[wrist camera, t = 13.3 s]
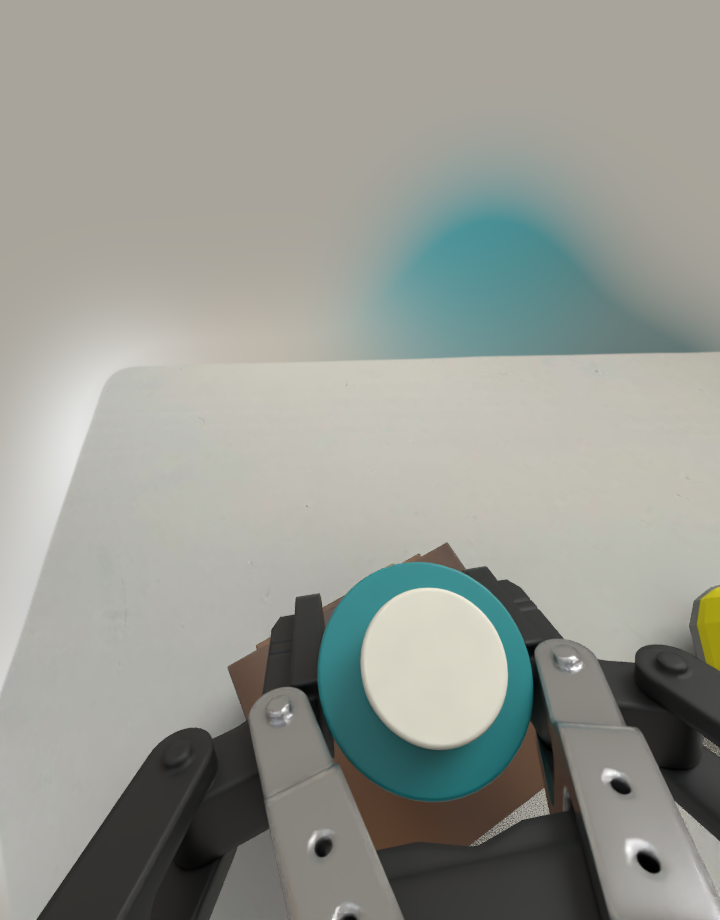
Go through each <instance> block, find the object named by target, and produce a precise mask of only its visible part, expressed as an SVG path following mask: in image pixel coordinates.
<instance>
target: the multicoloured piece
mask: <svg viewBox="0 0 720 920" xmlns="http://www.w3.org/2000/svg"><path fill="white" fill-rule="evenodd" d="M689 627H690V631H691V635H692V639H693V643H694V647H695V651H696V655H697V658H698V659H700V660H702V661H703V662H705V663H707V664H709V665H710V666H712V667H714V668H716V669H717V670H719V671H720V585H718V586H714V587H711V588H710V589H708V590H707V591H705V592H704V593H703V594H702V595H701V596H699V597H698V598H697V599H696V600H694V603H693V609H692V614H691V620H690V625H689Z"/></svg>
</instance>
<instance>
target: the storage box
mask: <svg viewBox="0 0 720 920" xmlns="http://www.w3.org/2000/svg"><path fill="white" fill-rule="evenodd" d="M407 562H426V563H434V564H439V565H444V566H447V567H450V568H453V569H456V570H458V571H460V572H462V570H465V567H464V566H463V564H462V563H461V561H460V560H459V558H458V557H457V555H456V554H455V553H454V551H453V550H452V548H451V547H450V545H449V544H448V543H445V544H443V545H442V546H440V547H438V548H436V549H434V550H433V551H431V552H429V553H427V554H426V555H424V556H422V557H421V555H420V554H417V555H415V556H414V557H412V558H410V559H408V560H407V561H405V562H403V563H407ZM392 565H395V564H391V565H389V566H392ZM389 566H387V567H389ZM344 596H345V595H344ZM344 596H343V597H344ZM343 597H341V598H339V599H337V600H336V601H334V602H332V603H330V604H328V605H327V606H325V607H323V614H324V620H325V626H327V623H328V621H329V619H330V617H331V615H332V614H333V612H334V610H335V608H336V607H337V605H338V604H339V603H340V601H341V600H342V598H343ZM270 638H271V637H270ZM270 638H268V639H266V640H265V641H263V642H261V643H259V644H258V645H256V648H257V650H256V651H254V652H253V653H251V654H249V655H247V656H246V657H244V658H242V659H240V660H239V661H237V662H235V663H233V664H231V665H230V666H228V671H229V673H230V676H231V679H232V682H233V684H234V687H235V690H236V693H237V695H238V698H239V701H240V704H241V707H242V709H243V712H244V715H245V718H246V720H248V718H249V713H250V710H251V708H252V706H253V705H254V704H255V702H256V701H257V700H258V699H259V698H260V697H262V693H263V686H264V679H265V672H266V665H267V658H268V651H269V645H270ZM334 750H335V758H332V760H333V762H334V764H336V763H338V764H339V765H340V767H341V769H342V771H343V773H344V776H345V778H346V781H347V783H348V785H349V788H350V790H351V793H352V795H353V797H354V800H355V802H356V805H357V807H358V809H359V812H360V814H361V817H362V819H363V821H364V824H365V826H366V829H367V831H368V833H369V836H370V838H371V841H372V843H373V845H374V848H375V850H380V849H385V848H390V847H395V846H400V845H404V844H409V843H414V842H428V843H438V844H449V845H460V846H469V845H471V844H472V843H473V842H475V841H476V840H477V839H478V838H480V837H481V836H482V835H484V834H485V833H486V832H488V831H489V830H490V829H491V828H493V827H494V826H495V825H497V824H498V823H499V822H500V821H502V820H503V819H504V818H506V817H507V816H508V815H510V814H511V813H512V812H513V811H515V810H516V809H517V808H519V807H520V806H521V805H522V804H524V803H525V802H526V801H528V800H529V799H530V798H532V797H533V796H534V795H535V794H537V793H538V792H539V791H541V790H542V789H543V788H544V782H543V777H542V773H541V768H540V763H539V758H538V753H537V748H536V741H535V728H534V726H533V724H532V723H531V721H530V722H529V726H528V729H527V733H526V735H525V738H524V740H523V742H522V745H521V747H520V749H519V750H518V752H517V754H516V755H515V757H514V759H513V760H512V762H511V763H510V764H509V765H508V766H507V768H506V769H505V770H504V771H503V773H502V774H500V775H499V776H498V777H497V778H496V779H495V780H494V781H492V782H491V783H490V784H489V785H487V786H485V787H484V788H482V789H481V790H479V791H478V792H475V793H473V794H471V795H468V796H466V797H463V798H460V799H456V800H451V801H447V802H422V801H414V800H410V799H407V798H403V797H399V796H397V795H395V794H393V793H390V792H388V791H386V790H384V789H382V788H381V787H379V786H377V785H376V784H374V783H373V782H371V781H370V780H369V779H367V778H366V777H365V776H364V775H363V774H362V773H360V772H359V771H358V770H357V769H356V768H355V767H354V766H353V765H352V763H351V762H350V761H349V760H348V759H347V758H346V756H345V755H344V754H343V752H342V751H341V749H340V748H339V746H338V745H337V743H336V741H335V739H334Z"/></svg>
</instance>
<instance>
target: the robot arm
mask: <svg viewBox="0 0 720 920" xmlns="http://www.w3.org/2000/svg"><path fill="white" fill-rule="evenodd" d="M462 573H464V574H466V575H468V576H470V577H471V578H473V579H474V580H476V581H478V582H479V583H480V584H482V585H483V586H484V587H485V588H487V589H488V590H489V591H490V592H491V593H492V594H493V595H494V596H495V597H496V598H497V599H498V600H499V601H500V602H501V603H502V605H503V606H504V607H505V608H506V610H507V611H508V612H509V614H510V615H511V617H512V619H513V620H514V622H515V623H516V625H517V627H518V629H519V631H520V633H521V635H522V638H523V640H524V643H525V646H526V649H527V651H528V655H529V659H530V664H531V668H532V676H533V706H532V713H531V719H530V721H531V723H532V724H533V726H534V728H535V741H536V748H537V753H538V758H539V763H540V768H541V773H542V777H543V782H544V787H545V792H546V797H547V802H548V807H549V812H550V814H549V815H544V816H539V817H535V818H530V819H525V820H522V821H520V822H518V823H517V824H515V825H513V826H512V827H510V828H508V829H506V830H505V831H503V832H501V833H499V834H498V835H496V836H494V837H493V838H491V839H489V840H487V841H486V842H484V843H482V844H480V845H478V846H460V845H449V844H438V843H428V842H414V843H409V844H404V845H400V846H395V847H390V848H385V849H380V850H375V848H374V845H373V843H372V841H371V838H370V836H369V833H368V831H367V829H366V826H365V824H364V821H363V819H362V817H361V814H360V812H359V809H358V807H357V805H356V802H355V800H354V797H353V795H352V793H351V790H350V788H349V785H348V783H347V781H346V778H345V776H344V773H343V771H342V769H341V767H340V765H339V764H338V763H336V764H334V762H333V760H332V758H335V750H334V737H333V736H332V734H331V732H330V730H329V727H328V725H327V722H326V719H325V717H324V714H323V710H322V706H321V702H320V698H319V690H318V682H317V665H318V657H319V649H320V645H321V641H322V637H323V634H324V631H325V629H326V626H325V620H324V614H323V608H322V602H321V596H320V593H319V594H312V595H306V596H300V597H296V602H295V615H290V616H284V617H280V618H279V620H278V621H277V623H276V624H275V625H274V627H273V628H272V631H271V638H270V645H269V651H268V658H267V665H266V672H265V679H264V686H263V693H262V697H260V698H259V699H258V700H257V701H256V702H255V704H254V705H253V706H252V708H251V710H250V713H249V718H248V720H246V721H245V722H244V723H243V724H241V725H240V726H238V727H236V728H235V729H233V730H231V731H228V732H226V733H224V734H222V735H220V736H218V737H216V738H213V739H212V738H211V736H210V734H209V733H208V732H207V731H205V730H203V729H201V728H187V729H183V730H180V731H178V732H175V733H173V734H171V735H170V736H168V737H167V738H165V739H164V740H163V741H161V742H160V743H159V744H158V745H157V746H156V747H155V748H154V749H153V750H152V752H151V753H150V754H149V756H148V757H147V759H146V760H145V762H144V763H143V765H142V766H141V768H140V769H139V770H138V772H137V773H136V775H135V776H134V778H133V779H132V781H131V782H130V784H129V785H128V787H127V788H126V789H125V791H124V792H123V794H122V795H121V797H120V798H119V800H118V801H117V803H116V804H115V806H114V807H113V808H112V810H111V811H110V813H109V814H108V816H107V817H106V819H105V820H104V822H103V823H102V825H101V826H100V827H99V829H98V830H97V832H96V833H95V835H94V836H93V838H92V839H91V841H90V842H89V844H88V845H87V847H86V848H85V849H84V851H83V852H82V854H81V855H80V857H79V858H78V860H77V861H76V863H75V864H74V866H73V867H72V868H71V870H70V871H69V873H68V874H67V876H66V877H65V879H64V880H63V882H62V883H61V885H60V886H59V887H58V889H57V890H56V892H55V893H54V895H53V896H52V898H51V899H50V901H49V902H48V904H47V905H46V906H45V908H44V909H43V911H42V912H41V914H40V915H39V917H38V918H37V920H209V919H210V917H211V914H212V911H213V909H214V906H215V904H216V901H217V899H218V896H219V894H220V891H221V888H222V886H223V883H224V881H225V878H226V876H227V873H228V871H229V868H230V866H231V863H232V860H233V858H234V855H235V853H236V850H237V847H238V846H239V845H241V844H243V843H245V842H246V841H248V840H250V839H252V838H253V837H255V836H257V835H259V834H260V833H262V832H264V831H266V830H267V829H269V828H270V831H271V836H272V841H273V846H274V850H275V855H276V860H277V865H278V869H279V874H280V879H281V884H282V888H283V893H284V898H285V903H286V908H287V912H288V917H289V920H720V897H719V895H718V892H717V890H716V888H715V886H714V884H713V882H712V880H711V878H710V875H709V873H708V871H707V869H706V867H705V865H704V863H703V861H702V858H701V856H700V854H699V852H698V850H697V848H696V846H695V844H694V842H693V839H692V837H691V835H690V833H689V831H688V829H687V827H686V825H685V822H684V820H683V818H682V816H681V814H680V812H679V810H678V808H677V805H676V803H675V802H677V803H678V804H679V805H680V806H681V807H682V808H683V809H684V810H686V811H687V812H688V813H689V814H690V815H691V816H692V817H693V818H695V819H696V820H697V821H698V822H699V823H700V824H701V825H702V826H703V827H705V828H706V829H707V830H708V831H709V832H710V833H711V834H712V835H714V836H715V837H716V838H717V839H718V840H719V841H720V757H718V756H717V755H716V754H714V753H713V752H712V751H710V750H709V749H707V748H706V747H705V746H703V739H704V737H706V738H707V739H709V740H710V741H711V742H713V743H714V744H716V745H717V746H718V747H720V671H719V670H717V669H716V668H714V667H712V666H710V665H709V664H707V663H705V662H703V661H702V660H700V659H698V658H697V657H695V656H693V655H691V654H689V653H687V652H685V651H683V650H681V649H678V648H675V647H671V646H666V645H648V646H644V647H642V648H640V649H639V650H638V651H637V652H636V655H635V663H630V662H616V661H605V660H599V659H597V658H596V656H595V655H594V654H593V653H592V652H591V651H590V650H589V649H588V648H586V647H585V646H583V645H581V644H579V643H577V642H574V641H571V640H566V639H563V637H562V636H561V635H560V634H559V633H558V631H557V630H556V629H555V628H554V627H553V625H552V624H551V623H550V622H549V621H548V619H547V618H546V617H545V616H544V615H543V614H542V612H541V611H540V610H539V609H537V606H536V605H535V604H534V603H533V602H532V600H531V601H530V598H529V597H528V596H527V595H526V593H525V592H524V591H523V590H522V589H521V588H520V587H519V586H517V585H515V584H513V583H512V582H510V581H508V580H500V581H497V579H496V578H495V577H494V575H493V574H492V573H491V571H490V570H489V569H488V568H487V567H486V566H484V567H478V568H472V569H465V570H462Z"/></svg>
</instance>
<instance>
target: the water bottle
mask: <svg viewBox="0 0 720 920" xmlns="http://www.w3.org/2000/svg"><path fill="white" fill-rule="evenodd" d="M317 682H318V690H319V698H320V702H321V706H322V710H323V714H324V717H325V719H326V722H327V725H328V727H329V730H330V732H331V734H332V736H333V737H334V739H335V741H336V743H337V745H338V746H339V748H340V749H341V751H342V752H343V754H344V755H345V756H346V758H347V759H348V760H349V761H350V762H351V763H352V765H353V766H354V767H355V768H356V769H357V770H358V771H359V772H360V773H362V774H363V775H364V776H365V777H366V778H367V779H369V780H370V781H371V782H373V783H374V784H376V785H377V786H379V787H381V788H382V789H384V790H386V791H388V792H390V793H393V794H395V795H397V796H399V797H403V798H407V799H410V800H414V801H422V802H447V801H451V800H456V799H460V798H463V797H466V796H468V795H471V794H473V793H475V792H478V791H479V790H481V789H482V788H484V787H485V786H487V785H489V784H490V783H491V782H492V781H494V780H495V779H496V778H497V777H498V776H499V775H500V774H502V773H503V771H504V770H505V769H506V768H507V766H508V765H509V764H510V763H511V762H512V760H513V759H514V757H515V755H516V754H517V752H518V750H519V749H520V747H521V745H522V742H523V740H524V738H525V735H526V733H527V729H528V726H529V722H530V719H531V713H532V706H533V676H532V668H531V664H530V659H529V655H528V651H527V649H526V646H525V643H524V640H523V638H522V635H521V633H520V631H519V629H518V627H517V625H516V623H515V622H514V620H513V619H512V617H511V615H510V614H509V612H508V611H507V610H506V608H505V607H504V606H503V605H502V603H501V602H500V601H499V600H498V599H497V598H496V597H495V596H494V595H493V594H492V593H491V592H490V591H489V590H488V589H487V588H485V587H484V586H483V585H482V584H480V583H479V582H478V581H476V580H474V579H473V578H471V577H470V576H468V575H466V574H464V573H462V572H460V571H458V570H456V569H453V568H450V567H447V566H444V565H439V564H434V563H426V562H407V563H401V564H396V565H392V566H389V567H386V568H383V569H381V570H378V571H376V572H374V573H372V574H370V575H369V576H367V577H366V578H364V579H363V580H361V581H360V582H359V583H357V584H356V585H355V586H354V587H353V588H352V589H351V590H350V591H349V592H348V593H347V594H346V595H345V596H344V597H343V598H342V600H341V601H340V603H339V604H338V605H337V607H336V608H335V610H334V612H333V614H332V615H331V617H330V619H329V621H328V623H327V626H326V629H325V631H324V634H323V637H322V641H321V645H320V649H319V657H318V665H317Z"/></svg>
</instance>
